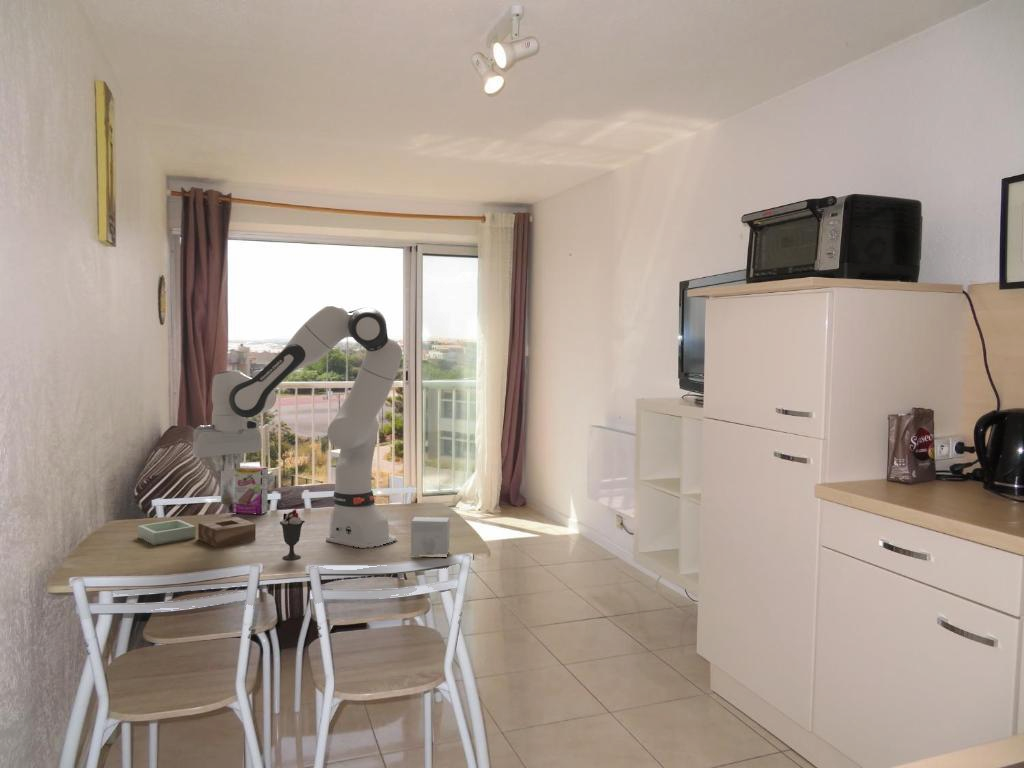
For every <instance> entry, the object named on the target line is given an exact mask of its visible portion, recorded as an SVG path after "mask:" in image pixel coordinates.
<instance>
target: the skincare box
mask: <svg viewBox="0 0 1024 768" xmlns="http://www.w3.org/2000/svg"><path fill="white" fill-rule="evenodd" d="M450 520H451V519H450V517H437V516H436V517H428V516H426V517H425V516H424V517H423V516H414V517H413V519H411V521H410V525H411V527H410V528H411V529H410V533H411V534H410V536H411V537H410V557H411V556H419V555H434V554H436V555H437V554H447V553H448V550H449V551H450V532H451V530H450V525H451V524H450Z"/></svg>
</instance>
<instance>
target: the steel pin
mask: <svg viewBox="0 0 1024 768" xmlns="http://www.w3.org/2000/svg"><path fill="white" fill-rule="evenodd" d="M235 462H236V454H227V455H222V456H220V464H222V465H223V470H222V471H220V504H222V505H232V504H233V503H235Z"/></svg>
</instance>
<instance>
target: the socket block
mask: <svg viewBox="0 0 1024 768" xmlns="http://www.w3.org/2000/svg"><path fill="white" fill-rule="evenodd" d="M197 523H198V536H197V537H198V540H199V541H201V542H203V541H204V542H203V543H207V544H208V545H210V544H211V546H213V547H215V548H220V547H221V548H222V547H225V546H231V545H235V544H236V545H237V544H241V543H247V542H251V541H256V534H257V531H256V528H257V527H256V523H255V522H252V521H250V520H247V519H244V518H241V517H238V516H233V517H228V518H221V519H214V520H209V521H203V522H202V521H201V522H197Z"/></svg>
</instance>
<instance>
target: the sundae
mask: <svg viewBox="0 0 1024 768" xmlns="http://www.w3.org/2000/svg"><path fill="white" fill-rule="evenodd" d="M299 507H300V505H298V504H297V506H296V507H295V508H294V509H293V510H292V511H290V512H288V513H283V518H282V520H281V521H279V524H280V525H281V527H282V534H283V541H284V543H285V544H286V545H288V547H289V552H288V554H287V555H284V556H283V557H282V559H283V561H297V560H299V559H301V558H302V556H301V555H299V554H296V553H295V546H296V545H297V544H298V542H300V537H301V532H302V526H303V524H304V523H305V520H302V519H301V517H300V516H299V513H298V512H297V509H298V508H299Z"/></svg>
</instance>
